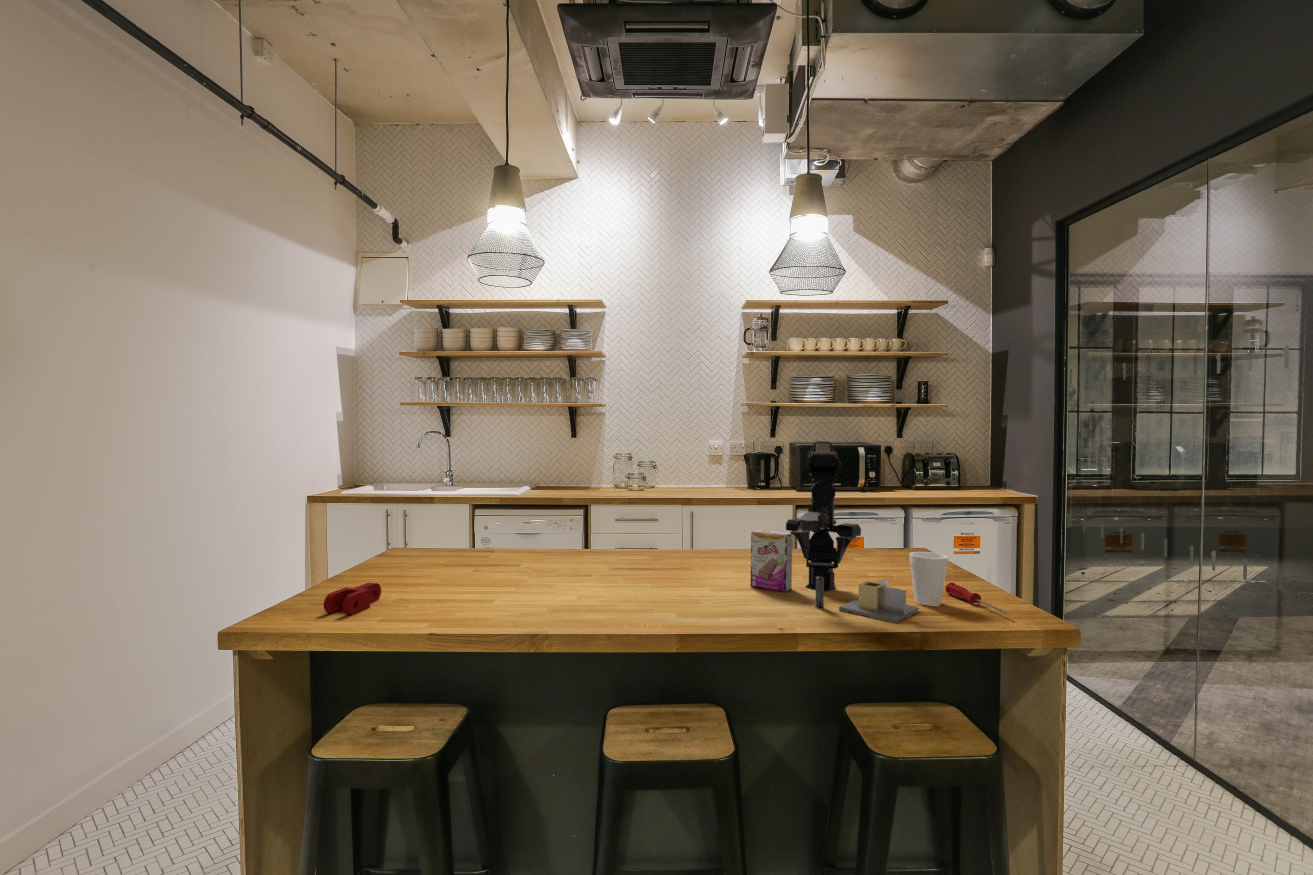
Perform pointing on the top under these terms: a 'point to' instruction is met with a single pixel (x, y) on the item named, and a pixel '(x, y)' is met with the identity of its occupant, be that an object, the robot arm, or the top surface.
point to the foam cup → (928, 576)
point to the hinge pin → (819, 591)
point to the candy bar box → (771, 560)
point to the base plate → (880, 614)
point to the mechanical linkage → (352, 599)
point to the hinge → (881, 597)
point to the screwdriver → (966, 595)
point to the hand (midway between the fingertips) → (822, 560)
